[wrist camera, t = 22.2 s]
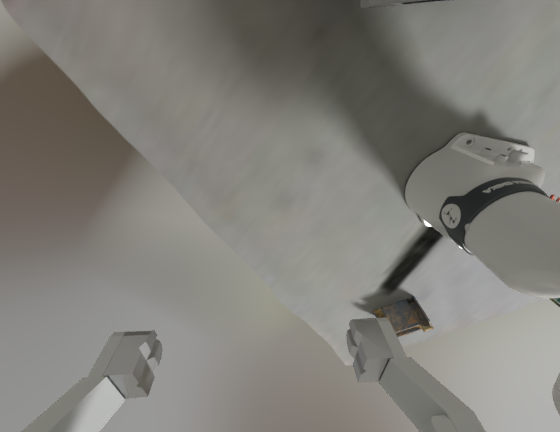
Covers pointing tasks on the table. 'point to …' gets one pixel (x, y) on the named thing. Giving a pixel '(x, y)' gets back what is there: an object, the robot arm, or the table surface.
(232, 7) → the table surface
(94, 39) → the table surface
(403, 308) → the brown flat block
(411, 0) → the alarm clock
